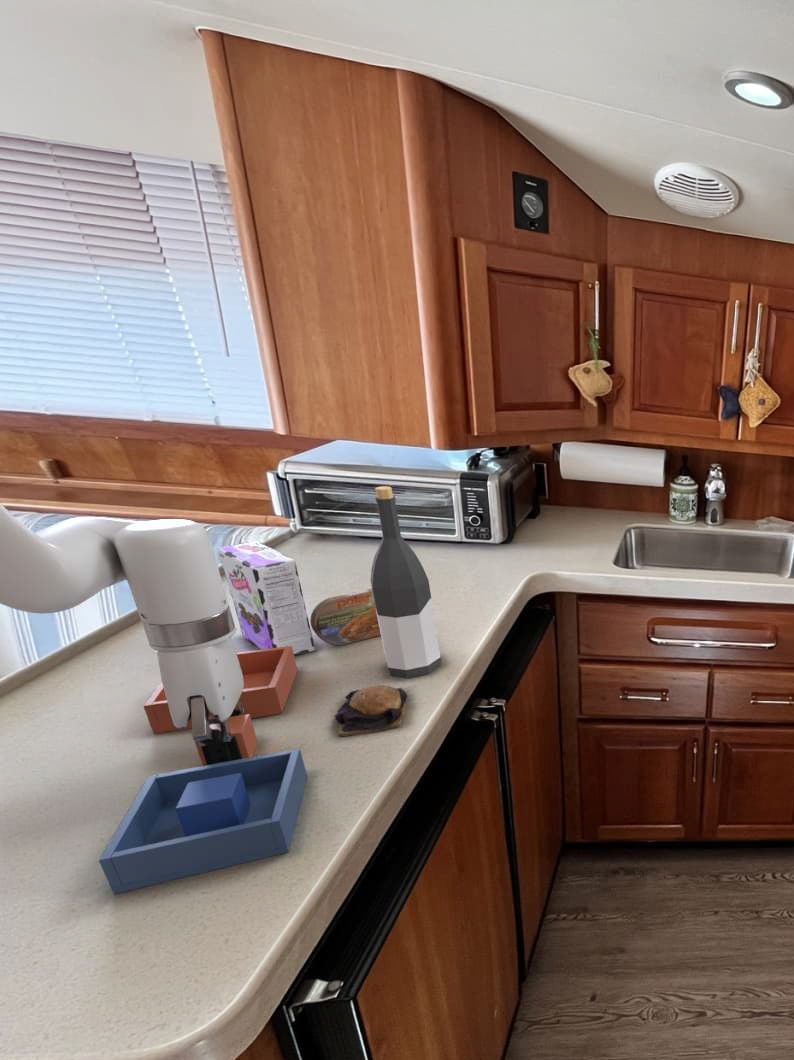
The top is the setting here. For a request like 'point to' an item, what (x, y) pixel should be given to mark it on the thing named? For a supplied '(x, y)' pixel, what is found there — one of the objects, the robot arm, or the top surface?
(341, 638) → the tin
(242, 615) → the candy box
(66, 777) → the top surface
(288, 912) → the top surface
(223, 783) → the blue block
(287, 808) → the blue bin
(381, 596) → the wine bottle
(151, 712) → the terracotta bin
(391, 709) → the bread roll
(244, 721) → the terracotta block
